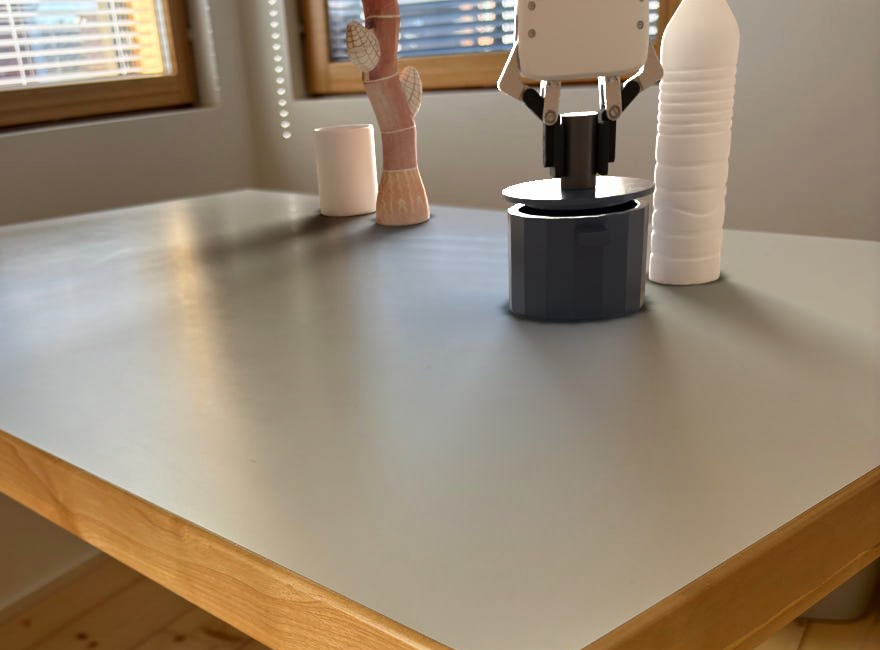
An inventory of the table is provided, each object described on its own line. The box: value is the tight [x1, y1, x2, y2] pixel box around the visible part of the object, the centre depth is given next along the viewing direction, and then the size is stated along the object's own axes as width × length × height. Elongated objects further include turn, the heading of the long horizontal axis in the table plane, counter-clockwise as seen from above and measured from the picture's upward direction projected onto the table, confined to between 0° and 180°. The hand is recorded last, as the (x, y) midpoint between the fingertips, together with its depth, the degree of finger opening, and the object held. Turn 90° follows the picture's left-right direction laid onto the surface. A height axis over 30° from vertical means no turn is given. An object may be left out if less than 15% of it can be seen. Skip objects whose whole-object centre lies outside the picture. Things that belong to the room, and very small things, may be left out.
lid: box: [502, 111, 655, 210], centre depth 85 cm, size 13×13×7 cm
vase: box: [345, 0, 431, 227], centre depth 131 cm, size 10×7×30 cm
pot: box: [507, 198, 650, 323], centre depth 89 cm, size 12×17×8 cm
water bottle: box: [648, 0, 741, 286], centre depth 92 cm, size 9×6×25 cm
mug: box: [312, 123, 379, 217], centre depth 148 cm, size 12×8×11 cm
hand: (578, 172), depth 86 cm, fingers closed on lid, 3 cm apart
